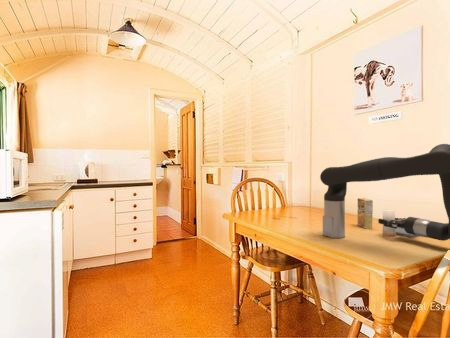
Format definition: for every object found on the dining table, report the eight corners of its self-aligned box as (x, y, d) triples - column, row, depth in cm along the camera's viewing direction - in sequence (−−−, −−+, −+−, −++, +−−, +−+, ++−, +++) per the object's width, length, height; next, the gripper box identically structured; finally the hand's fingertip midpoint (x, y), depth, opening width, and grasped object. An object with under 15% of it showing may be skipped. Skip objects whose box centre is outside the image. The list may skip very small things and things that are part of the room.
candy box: (356, 225, 149) (356, 198, 149) (364, 225, 149) (364, 197, 149) (365, 228, 141) (365, 200, 140) (373, 228, 141) (373, 200, 140)
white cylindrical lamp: (390, 237, 124) (390, 211, 124) (380, 234, 129) (379, 210, 129) (397, 236, 126) (397, 211, 126) (387, 233, 131) (387, 209, 131)
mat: (410, 237, 123) (410, 235, 123) (382, 230, 136) (382, 228, 136) (432, 234, 129) (432, 232, 129) (404, 227, 142) (404, 225, 142)
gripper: (430, 217, 117) (395, 211, 132) (408, 220, 112) (374, 213, 127) (430, 234, 117) (395, 226, 132) (408, 237, 112) (374, 229, 127)
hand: (385, 220), depth 129 cm, fingers open, 8 cm apart
